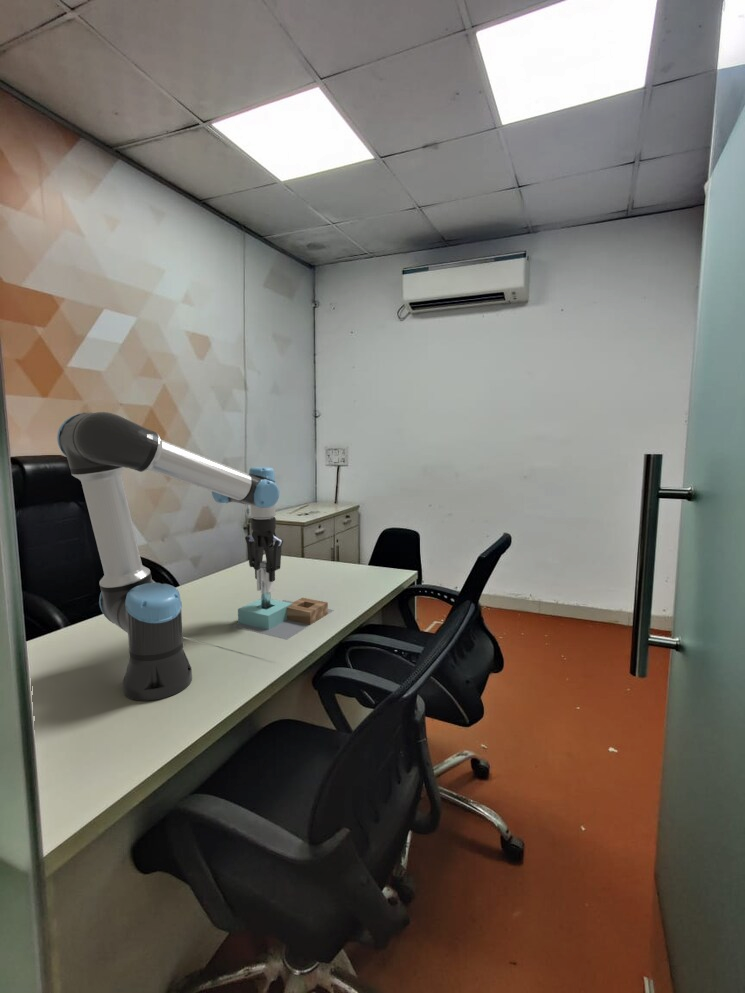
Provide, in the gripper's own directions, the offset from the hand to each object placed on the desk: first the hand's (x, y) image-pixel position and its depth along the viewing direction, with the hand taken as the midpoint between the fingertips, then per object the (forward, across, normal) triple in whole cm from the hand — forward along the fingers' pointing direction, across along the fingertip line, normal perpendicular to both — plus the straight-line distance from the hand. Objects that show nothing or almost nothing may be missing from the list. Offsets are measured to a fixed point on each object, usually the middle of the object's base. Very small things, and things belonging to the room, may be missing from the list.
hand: (265, 590), depth 152 cm
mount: (+10, -10, -8) cm, 16 cm away
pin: (+6, 0, 0) cm, 6 cm away
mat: (+10, -4, -4) cm, 12 cm away
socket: (+10, 0, 0) cm, 10 cm away
